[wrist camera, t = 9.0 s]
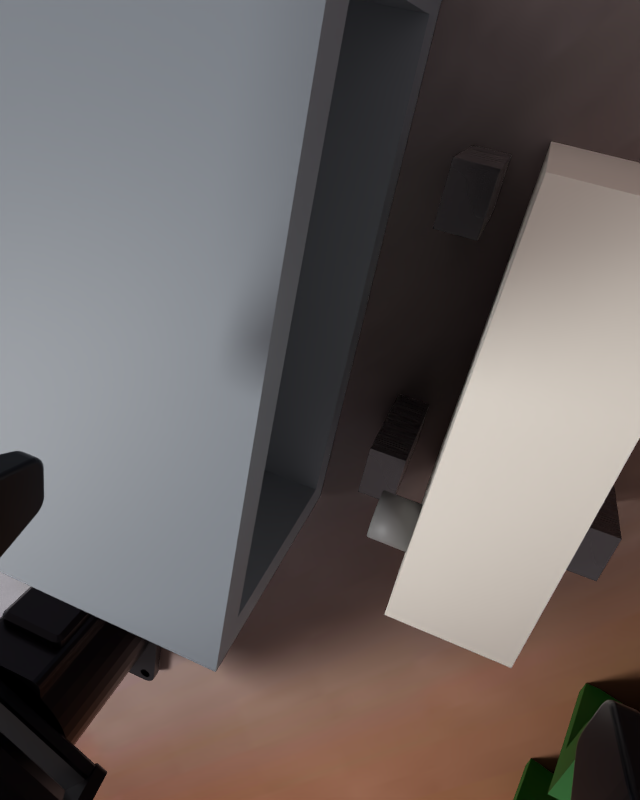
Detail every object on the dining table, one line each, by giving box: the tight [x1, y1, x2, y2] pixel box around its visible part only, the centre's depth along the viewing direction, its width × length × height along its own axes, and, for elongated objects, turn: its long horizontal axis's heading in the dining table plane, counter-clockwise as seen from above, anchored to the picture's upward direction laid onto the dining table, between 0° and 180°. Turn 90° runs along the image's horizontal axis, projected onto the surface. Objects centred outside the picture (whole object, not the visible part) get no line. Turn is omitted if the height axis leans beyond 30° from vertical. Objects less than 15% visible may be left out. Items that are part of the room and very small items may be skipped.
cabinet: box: [0, 0, 441, 672], centre depth 16 cm, size 16×8×8 cm, turn 168°
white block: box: [367, 141, 640, 668], centre depth 14 cm, size 10×4×7 cm, turn 168°
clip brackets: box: [358, 145, 622, 581], centre depth 16 cm, size 9×7×4 cm
